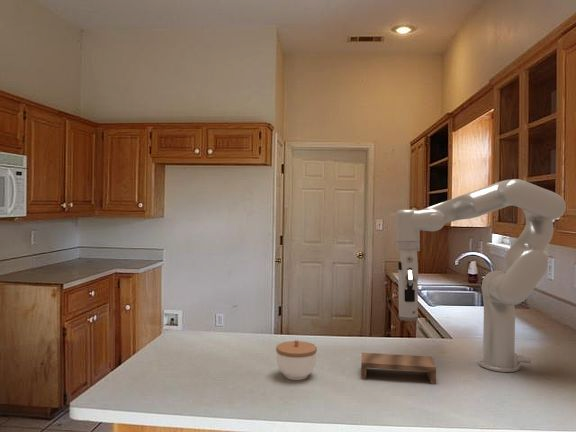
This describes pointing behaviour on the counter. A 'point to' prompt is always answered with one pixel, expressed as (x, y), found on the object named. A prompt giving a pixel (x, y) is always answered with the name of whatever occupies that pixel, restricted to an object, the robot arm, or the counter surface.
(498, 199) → the robot arm
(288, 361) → the lidded bowl
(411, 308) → the travel mug
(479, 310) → the counter surface
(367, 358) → the riser shelf
